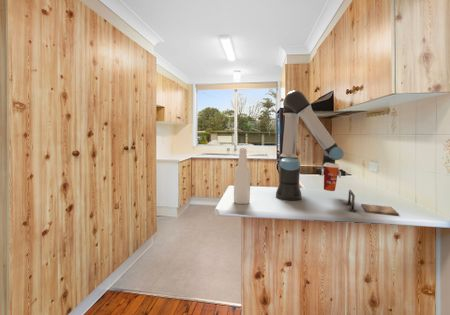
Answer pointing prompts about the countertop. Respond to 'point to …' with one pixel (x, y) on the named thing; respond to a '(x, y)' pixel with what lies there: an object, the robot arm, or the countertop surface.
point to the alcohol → (242, 179)
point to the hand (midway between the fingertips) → (331, 174)
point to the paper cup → (330, 176)
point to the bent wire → (351, 202)
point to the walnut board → (379, 209)
